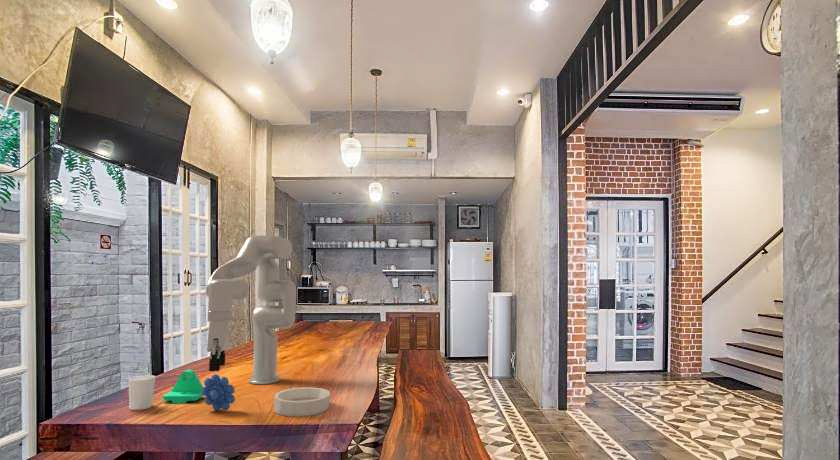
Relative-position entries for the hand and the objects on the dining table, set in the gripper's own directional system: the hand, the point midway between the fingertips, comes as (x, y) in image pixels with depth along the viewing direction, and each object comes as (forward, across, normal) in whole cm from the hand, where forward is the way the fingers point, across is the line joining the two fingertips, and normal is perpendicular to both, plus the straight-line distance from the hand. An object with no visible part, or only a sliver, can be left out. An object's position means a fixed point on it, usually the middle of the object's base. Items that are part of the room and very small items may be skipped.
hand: (217, 368), depth 160 cm
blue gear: (+15, -1, 0) cm, 15 cm away
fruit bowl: (+14, +1, +28) cm, 32 cm away
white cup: (+15, -11, -26) cm, 32 cm away
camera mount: (+14, -17, -14) cm, 26 cm away
